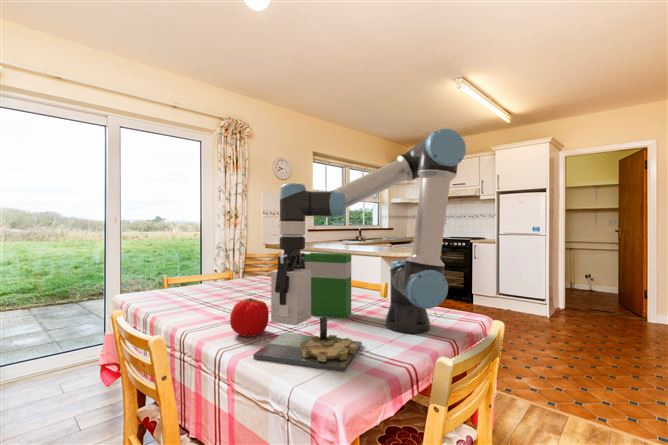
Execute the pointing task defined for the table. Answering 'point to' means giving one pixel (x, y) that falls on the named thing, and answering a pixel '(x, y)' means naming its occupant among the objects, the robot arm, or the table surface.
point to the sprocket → (327, 345)
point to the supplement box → (293, 297)
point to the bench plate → (300, 353)
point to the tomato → (249, 317)
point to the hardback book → (330, 284)
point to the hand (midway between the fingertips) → (291, 311)
